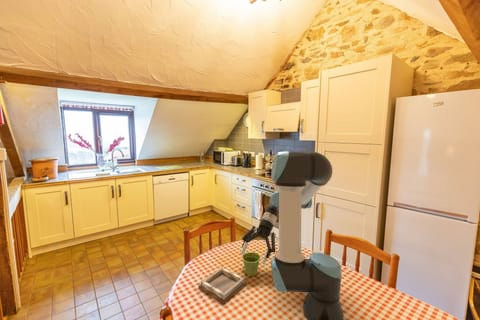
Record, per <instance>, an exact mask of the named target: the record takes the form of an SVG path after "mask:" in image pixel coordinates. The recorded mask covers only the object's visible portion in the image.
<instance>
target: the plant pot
mask: <svg viewBox="0 0 480 320" xmlns="http://www.w3.org/2000/svg"><path fill="white" fill-rule="evenodd" d="M241 257H242V258H241V259H242V262H243V265H244V273H245V275H247V276H249V277H254V276H256V275H257V274H258V271H259V270H258V268H259V264H260V261H261V258H262V257H261V255H260V254H258V253H257V252H254V251H251V252H250V251H249V252H246V253H245V252H244V255H241Z"/></svg>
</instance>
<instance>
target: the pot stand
mask: <svg viewBox="0 0 480 320" xmlns="http://www.w3.org/2000/svg"><path fill="white" fill-rule="evenodd" d="M247 284H248V282H246V281H245V278H244V277H241V276H240V275H238V274H236V273H234V272H232V271H230V270H229V269H226V267H225V268H224V267H222V266H221V267H220V268H219V269H217V270H216V271H214V272H213V273H211V274H210V275H208V276H207V277H205V278H204V279H202V280H201V281H200V284H199V285H198V289H200V290H201V291H203V292H205V293H206V294H207V295H209V296H211V297H213V298H214V299H215V300H216V301H219V302H220V303H221V304H226V303H228V301H230V299H231V298H233V297H234V296H235V295H236V294H237V293H238V292H240V291H241V290H242V289H243V288H244V287H245V286H246V285H247Z"/></svg>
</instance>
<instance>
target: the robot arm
mask: <svg viewBox="0 0 480 320" xmlns="http://www.w3.org/2000/svg"><path fill="white" fill-rule="evenodd" d="M270 175H271V181H272V182H275V187H276V188H277V189H278V191H277V190H276V191H275V192H273V193H272V194H271V196H270V198H269V201H268V204H267V206H266V209H265V212H263V215H262V218H261V220H260V222H259V225H258V226H257V227H256V226H255V225H253V226H252V227H251V229H250V230H249V231H248V232H247V233H246V234H245V235H243V236H242V238H241V239H242V241H243V243H242V245H241V250H240V251H239V254H240V255H241V256H243V255H244V254H245V252H246V251H247V248H248V246H249V242H251V241H253V240H254V239H256V238H260V239H263V240H264V241H265V243H266V247H267V249H266V250H265V253H264V255H263V257H262V260H261V264H262V265H264V266H265V265H266V262H267V260H268V259H269V258H270V256H271V255H272V253H274V258H271V259H270V269H271V275H272V280H273V281H272V282H273V285H274V289H275V290H276V291H277V292H282V293H284V292H285V293H286V294H287V293H306V295H305V298H304V300H303V302H302V311H303V314H304V316H305V317H306V318H307V320H344V310H343V308H342V303H341V300H340V297H341V283H342V277H343V275H342V266H341V264H340V262H339V260H337V259H336V258H334V257H332V256H331V255H329V254H326V253H323V252H313V253H311V254H310V255H309V258H306V256H305V254H304V253H303V252H302V209H304V210H305V209H310V208H311V207H312V205H313V197H314V196H315V195H316V194H317V192H318V191H319V190H320V188H322V186H325V185H327V184H328V182H329V181H330V180H331V179H332V176H333V166H332V164H331V162H330V160H329V158H327V157H326V156H325V155H323V154H322V153H320V152H317V151H290V150H289V151H279V152H277V153H275V154H274V157H273V160H272V165H271V174H270ZM277 219H278V250H276V235H277V234H276V233H275V232H273V229H274V226H275V224H276V222H277ZM269 237H270V239H269Z"/></svg>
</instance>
